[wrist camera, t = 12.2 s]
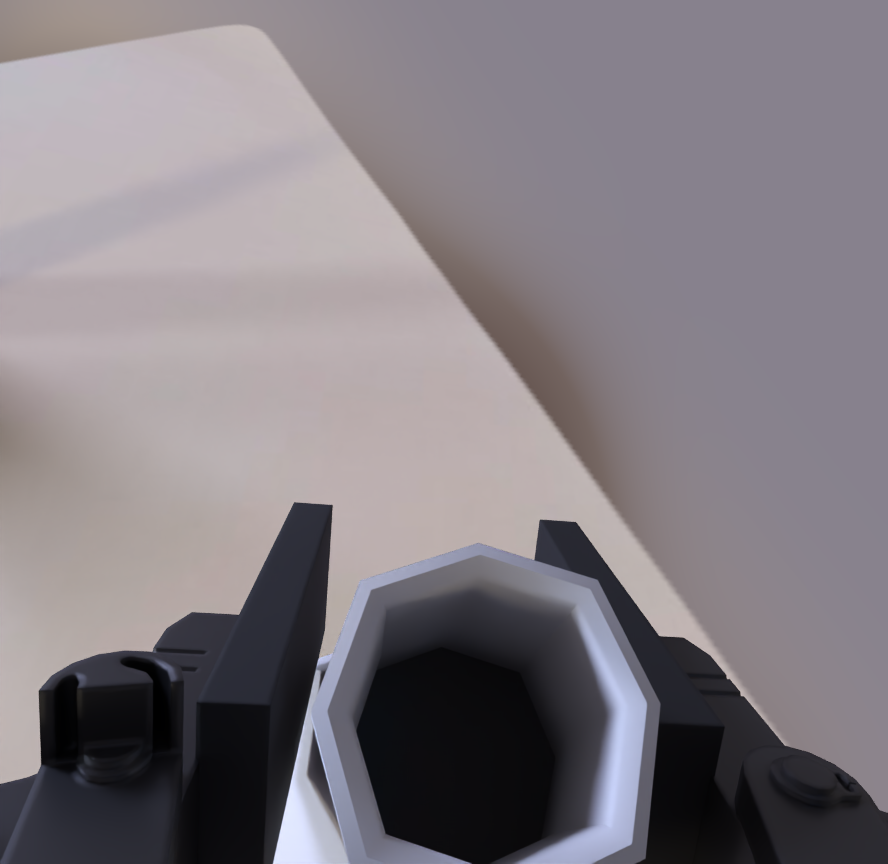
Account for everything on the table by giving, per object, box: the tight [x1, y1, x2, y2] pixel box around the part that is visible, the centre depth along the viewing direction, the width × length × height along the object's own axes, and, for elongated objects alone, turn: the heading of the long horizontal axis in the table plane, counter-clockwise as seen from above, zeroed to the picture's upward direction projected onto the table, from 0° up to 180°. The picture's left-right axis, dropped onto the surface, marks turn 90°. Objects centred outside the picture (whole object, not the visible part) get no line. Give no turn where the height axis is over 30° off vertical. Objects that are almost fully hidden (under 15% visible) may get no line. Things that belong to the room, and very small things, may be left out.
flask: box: [273, 543, 660, 864], centre depth 10 cm, size 7×7×10 cm
